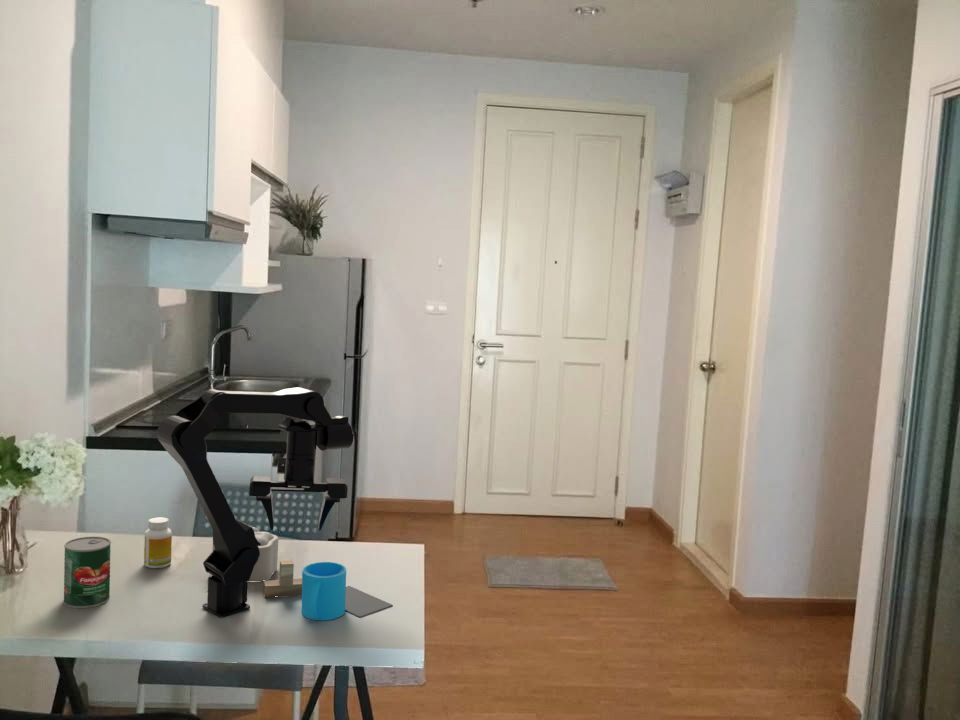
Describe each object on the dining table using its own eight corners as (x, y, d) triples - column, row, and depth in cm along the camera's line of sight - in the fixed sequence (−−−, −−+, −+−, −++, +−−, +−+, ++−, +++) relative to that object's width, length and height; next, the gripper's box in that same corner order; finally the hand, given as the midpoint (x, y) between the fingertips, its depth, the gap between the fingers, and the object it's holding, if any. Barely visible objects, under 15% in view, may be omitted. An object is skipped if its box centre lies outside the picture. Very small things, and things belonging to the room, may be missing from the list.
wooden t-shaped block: (306, 597, 166) (308, 562, 165) (265, 600, 163) (266, 565, 163) (304, 590, 169) (305, 556, 169) (263, 592, 167) (264, 558, 166)
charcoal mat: (359, 617, 158) (359, 616, 158) (315, 597, 166) (316, 596, 166) (392, 605, 164) (392, 604, 164) (349, 586, 172) (349, 585, 172)
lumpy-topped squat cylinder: (265, 583, 171) (267, 542, 170) (203, 578, 172) (204, 537, 171) (280, 566, 182) (282, 527, 181) (221, 561, 182) (223, 522, 181)
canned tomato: (88, 611, 153) (89, 552, 152) (53, 603, 155) (54, 546, 154) (119, 596, 161) (120, 540, 159) (85, 589, 163) (86, 534, 162)
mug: (308, 600, 164) (309, 560, 163) (349, 604, 163) (350, 563, 162) (289, 627, 152) (290, 583, 151) (333, 631, 151) (334, 587, 150)
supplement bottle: (176, 564, 179) (177, 519, 178) (154, 570, 174) (155, 525, 173) (160, 558, 182) (161, 514, 181) (138, 564, 177) (139, 519, 176)
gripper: (345, 445, 175) (340, 519, 176) (253, 442, 171) (248, 517, 172) (350, 457, 164) (344, 535, 166) (251, 453, 160) (246, 533, 161)
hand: (295, 529), depth 166 cm, fingers open, 9 cm apart
